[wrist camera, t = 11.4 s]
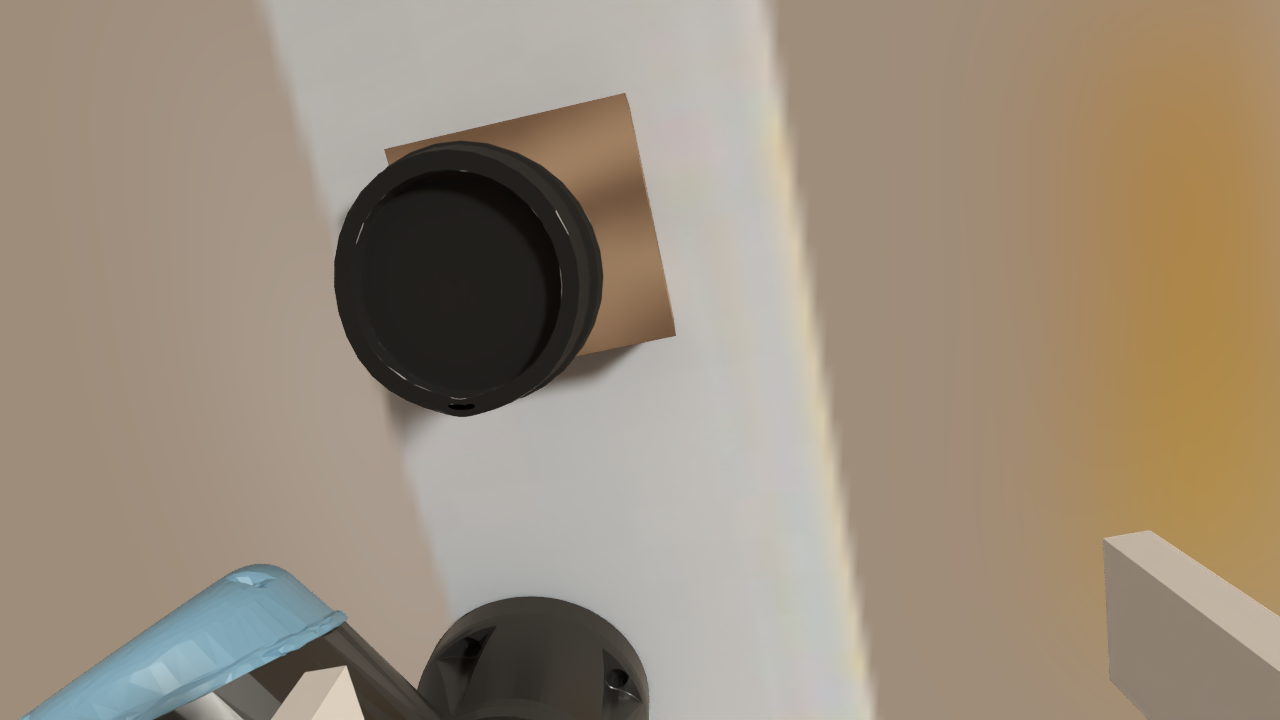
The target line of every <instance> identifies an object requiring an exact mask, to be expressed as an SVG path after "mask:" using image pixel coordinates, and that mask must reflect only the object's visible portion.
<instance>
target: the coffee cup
mask: <svg viewBox="0 0 1280 720" xmlns="http://www.w3.org/2000/svg"><path fill="white" fill-rule="evenodd" d="M334 288H335V294H336V300H337V305H338V312H339V315H340V318H341V321H342V324H343V327H344V330H345V333H346V336H347V338H348V340H349V342H350V344H351V346H352V348H353V349H354V351H355V353H356V355H357V357H358V359H359V360H360V361H361V363H362V364H363V365H364V366H365V367H366V369H367V370H368V371H369V373H370V374H371V375H372V376H373V377H374V378H375V379H376V380H377V381H379V382H380V383H381V384H382V385H383V386H385V387H386V388H387V389H388V390H389V391H391V392H393V393H395V394H396V395H398V396H400V397H402V398H403V399H405V400H407V401H410V402H412V403H414V404H417V405H419V406H422V407H424V408H428V409H431V410H434V411H437V412H440V413H444V414H448V415H452V416H458V417H467V416H473V415H477V414H480V413H484V412H487V411H491V410H494V409H497V408H499V407H502V406H504V405H506V404H509V403H511V402H513V401H515V400H517V399H519V398H523V397H526V396H527V395H529V394H531V393H533V392H535V391H536V390H538V389H540V388H542V387H544V386H546V385H547V384H548V383H549V382H551V381H552V380H553V379H554V378H555V377H556V376H558V375H559V374H560V373H561V372H562V371H564V370H565V368H566V367H567V366H568V365H569V364H570V363H571V361H572V360H573V359H574V358H575V356H576V355H577V354H578V353H579V351H580V350H581V349H582V348H583V346H584V345H585V343H586V341H587V339H588V337H589V335H590V333H591V331H592V329H593V327H594V325H595V322H596V319H597V315H598V311H599V308H600V304H601V301H602V288H603V268H602V260H601V252H600V248H599V245H598V242H597V239H596V236H595V233H594V230H593V227H592V224H591V222H590V220H589V219H588V217H587V215H586V213H585V212H584V210H583V208H582V206H581V204H580V203H579V201H578V200H577V199H576V198H575V197H574V195H573V194H572V193H571V192H570V191H569V189H568V188H567V187H566V186H565V185H564V183H563V182H562V181H560V180H559V179H558V178H557V177H555V176H554V175H553V174H552V173H551V172H549V171H548V170H547V169H546V168H544V167H543V166H542V165H540V164H538V163H536V162H534V161H533V160H531V159H529V158H527V157H525V156H523V155H521V154H519V153H517V152H514V151H511V150H508V149H505V148H501V147H498V146H495V145H492V144H489V143H482V142H472V141H462V140H460V141H452V142H444V143H436V144H432V145H429V146H427V147H424V148H421V149H418V150H415V151H412V152H410V153H408V154H407V155H405V156H404V157H402V158H400V159H399V160H397V161H395V162H394V163H392V164H391V165H389V166H388V167H387V168H386V169H385V170H384V171H383V172H381V173H379V174H378V175H377V176H376V177H375V178H374V179H373V180H372V181H371V182H370V183H369V184H368V185H367V186H366V187H365V188H364V189H363V190H362V191H361V193H360V194H359V196H358V197H357V199H356V201H355V202H354V204H353V205H352V207H351V209H350V210H349V212H348V214H347V216H346V219H345V222H344V224H343V227H342V230H341V232H340V235H339V239H338V245H337V250H336V256H335V261H334Z"/></svg>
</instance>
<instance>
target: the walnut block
mask: <svg viewBox="0 0 1280 720" xmlns="http://www.w3.org/2000/svg"><path fill="white" fill-rule="evenodd" d="M460 140H462V141H472V142H482V143H489V144H492V145H495V146H498V147H501V148H505V149H508V150H511V151H514V152H517V153H519V154H521V155H523V156H525V157H527V158H529V159H531V160H533V161H534V162H536V163H538V164H540V165H542V166H543V167H544V168H546V169H547V170H548V171H549V172H551V173H552V174H553V175H554V176H555V177H557V178H558V179H559V180H560V181H562V182H563V183H564V185H565V186H566V187H567V188H568V189H569V191H570V192H571V193H572V194H573V195H574V197H575V198H576V199H577V200H578V201H579V203H580V204H581V206H582V208H583V210H584V212H585V213H586V215H587V217H588V219H589V220H590V222H591V224H592V227H593V230H594V233H595V236H596V239H597V242H598V245H599V248H600V252H601V260H602V268H603V288H602V301H601V304H600V308H599V311H598V315H597V319H596V322H595V325H594V327H593V329H592V331H591V333H590V335H589V337H588V339H587V341H586V343H585V345H584V346H583V348H582V349H581V350H580V351H579V353H578V354H577V355H576V356H580V355H585V354H590V353H595V352H600V351H605V350H609V349H614V348H619V347H624V346H629V345H633V344H638V343H643V342H648V341H653V340H658V339H662V338H667V337H672V336H676V333H675V326H674V318H673V313H672V309H671V304H670V299H669V294H668V289H667V285H666V280H665V275H664V270H663V266H662V261H661V256H660V251H659V246H658V242H657V237H656V232H655V227H654V222H653V218H652V213H651V208H650V203H649V198H648V194H647V189H646V184H645V179H644V174H643V170H642V165H641V160H640V155H639V150H638V146H637V141H636V136H635V131H634V126H633V122H632V117H631V112H630V107H629V103H628V100H627V97H626V94H625V93H623V94H619V95H615V96H610V97H606V98H602V99H597V100H593V101H589V102H585V103H580V104H576V105H572V106H567V107H563V108H559V109H555V110H550V111H546V112H542V113H538V114H533V115H529V116H525V117H520V118H516V119H512V120H508V121H503V122H499V123H495V124H490V125H486V126H482V127H478V128H473V129H469V130H465V131H461V132H456V133H452V134H448V135H443V136H439V137H435V138H431V139H426V140H422V141H418V142H414V143H409V144H405V145H401V146H396V147H392V148H388V149H384V150H385V153H386V157H387V160H388V164H389V165H391V164H392V163H394V162H395V161H397V160H399V159H400V158H402V157H404V156H405V155H407V154H408V153H410V152H412V151H415V150H418V149H421V148H424V147H427V146H429V145H432V144H436V143H444V142H452V141H460ZM576 356H575V357H576Z"/></svg>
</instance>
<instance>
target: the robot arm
mask: <svg viewBox="0 0 1280 720" xmlns="http://www.w3.org/2000/svg"><path fill="white" fill-rule="evenodd" d="M1103 553H1104V573H1105V593H1106V613H1107V632H1108V633H1107V634H1108V653H1109V674H1110V680H1111V681H1112V682H1113V684H1114V685H1115V686H1116V687H1117V688H1118V689H1119V690H1120V691H1121V692H1122V693H1123V694H1124V695H1125V696H1126V697H1127V698H1128V699H1129V700H1130V701H1131V702H1132V703H1133V705H1134V706H1135V707H1136V708H1137V709H1138V710H1139V711H1140V712H1141V713H1142V714H1143V715H1144V716H1145V717H1146V718H1147V719H1148V720H1280V617H1279V616H1278V615H1276V614H1274V613H1273V612H1272V611H1270V610H1268V609H1267V608H1265V607H1264V606H1263V605H1261V604H1260V603H1258V602H1257V601H1255V600H1254V599H1252V598H1250V597H1249V596H1248V595H1246V594H1245V593H1243V592H1241V591H1240V590H1239V589H1237V588H1236V587H1234V586H1232V585H1231V584H1230V583H1228V582H1226V581H1225V580H1224V579H1222V578H1220V577H1219V576H1218V575H1216V574H1215V573H1213V572H1212V571H1210V570H1208V569H1207V568H1205V567H1204V566H1203V565H1201V564H1200V563H1198V562H1197V561H1195V560H1193V559H1192V558H1191V557H1189V556H1188V555H1186V554H1184V553H1183V552H1182V551H1180V550H1178V549H1177V548H1176V547H1174V546H1173V545H1171V544H1169V543H1168V542H1167V541H1165V540H1164V539H1162V538H1161V537H1159V536H1158V535H1156V534H1155V533H1153V532H1151V531H1150V530H1148V531H1142V532H1137V533H1131V534H1125V535H1119V536H1113V537H1107V538H1103ZM347 618H348V617H347V616H346V615H345V613H344V612H342V611H334V610H332V609H331V608H330V607H329V606H328V605H327V604H325V603H324V602H323V601H322V600H321V599H320V598H318V597H317V596H316V595H315V594H314V593H313V592H311V591H310V590H309V589H308V588H307V587H306V586H304V585H303V584H302V583H301V582H300V581H299V580H297V579H296V578H295V577H294V576H293V575H292V574H291V573H289V572H287V571H286V570H284V569H282V568H280V567H277V566H274V565H269V564H254V565H250V566H245V567H242V568H239V569H237V570H235V571H233V572H231V573H229V574H227V575H226V576H224V577H223V578H221V579H220V580H218V581H217V582H215V583H214V584H212V585H211V586H209V587H208V588H206V589H205V590H203V591H202V592H200V593H199V594H197V595H196V596H194V597H193V598H191V599H190V600H188V601H187V602H186V603H184V604H183V605H181V606H180V607H178V608H177V609H175V610H174V611H172V612H171V613H170V614H168V615H167V616H165V617H164V618H162V619H161V620H159V621H158V622H157V623H155V624H154V625H152V626H151V627H149V628H148V629H146V630H145V631H144V632H142V633H141V634H139V635H138V636H137V637H135V638H134V639H132V640H131V641H129V642H128V643H126V644H125V645H123V646H122V647H121V648H119V649H118V650H116V651H115V652H113V653H112V654H110V655H109V656H108V657H106V658H105V659H103V660H102V661H101V662H99V663H98V664H96V665H95V666H94V667H92V668H91V669H89V670H88V671H86V672H85V673H84V674H82V675H81V676H79V677H78V678H76V679H75V680H74V681H72V682H71V683H69V684H68V685H66V686H65V687H64V688H62V689H61V690H59V691H58V692H57V693H55V694H54V695H53V696H51V697H50V698H48V699H47V700H45V701H44V702H43V703H41V704H40V705H39V706H37V707H36V708H35V709H33V710H32V711H30V712H29V713H27V714H26V715H24V716H23V717H21V718H20V719H19V720H649V688H648V682H647V677H646V674H645V671H644V668H643V665H642V663H641V661H640V659H639V657H638V655H637V653H636V652H635V650H634V648H633V647H632V646H631V644H630V643H629V642H628V640H627V639H626V638H625V637H624V636H623V635H622V634H621V633H620V632H619V631H618V630H617V629H616V628H615V627H614V626H613V625H612V624H610V623H609V622H608V621H606V620H605V619H603V618H602V617H600V616H599V615H597V614H595V613H594V612H592V611H590V610H588V609H586V608H583V607H581V606H578V605H576V604H573V603H570V602H567V601H563V600H559V599H553V598H546V597H515V598H509V599H504V600H499V601H496V602H493V603H489V604H487V605H484V606H482V607H480V608H478V609H476V610H474V611H472V612H470V613H468V614H467V615H465V616H464V617H462V618H461V619H460V620H458V621H457V622H456V623H455V624H454V625H453V626H452V627H451V628H449V630H448V631H447V632H446V633H445V634H444V635H443V637H442V638H441V639H440V641H439V642H438V644H437V645H436V647H435V649H434V651H433V653H432V655H431V657H430V659H429V661H428V663H427V665H426V667H425V669H424V672H423V674H422V676H421V679H420V682H419V686H418V689H417V690H416V689H415V688H414V687H413V686H412V685H411V684H410V683H409V682H408V681H407V680H406V679H405V678H404V677H403V676H402V675H401V674H399V673H398V672H397V671H396V670H395V669H394V668H393V667H392V666H391V665H390V664H389V663H388V662H387V661H386V660H385V659H384V658H383V657H382V656H381V655H380V654H379V653H378V652H377V651H376V650H375V649H374V648H373V647H371V646H370V645H369V644H368V643H367V642H366V641H365V640H364V639H363V638H362V637H361V636H360V635H359V634H358V633H357V632H356V631H355V630H354V629H353V628H352V627H350V625H349V624H348V623H347V622H346V621H345V620H346V619H347Z"/></svg>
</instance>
